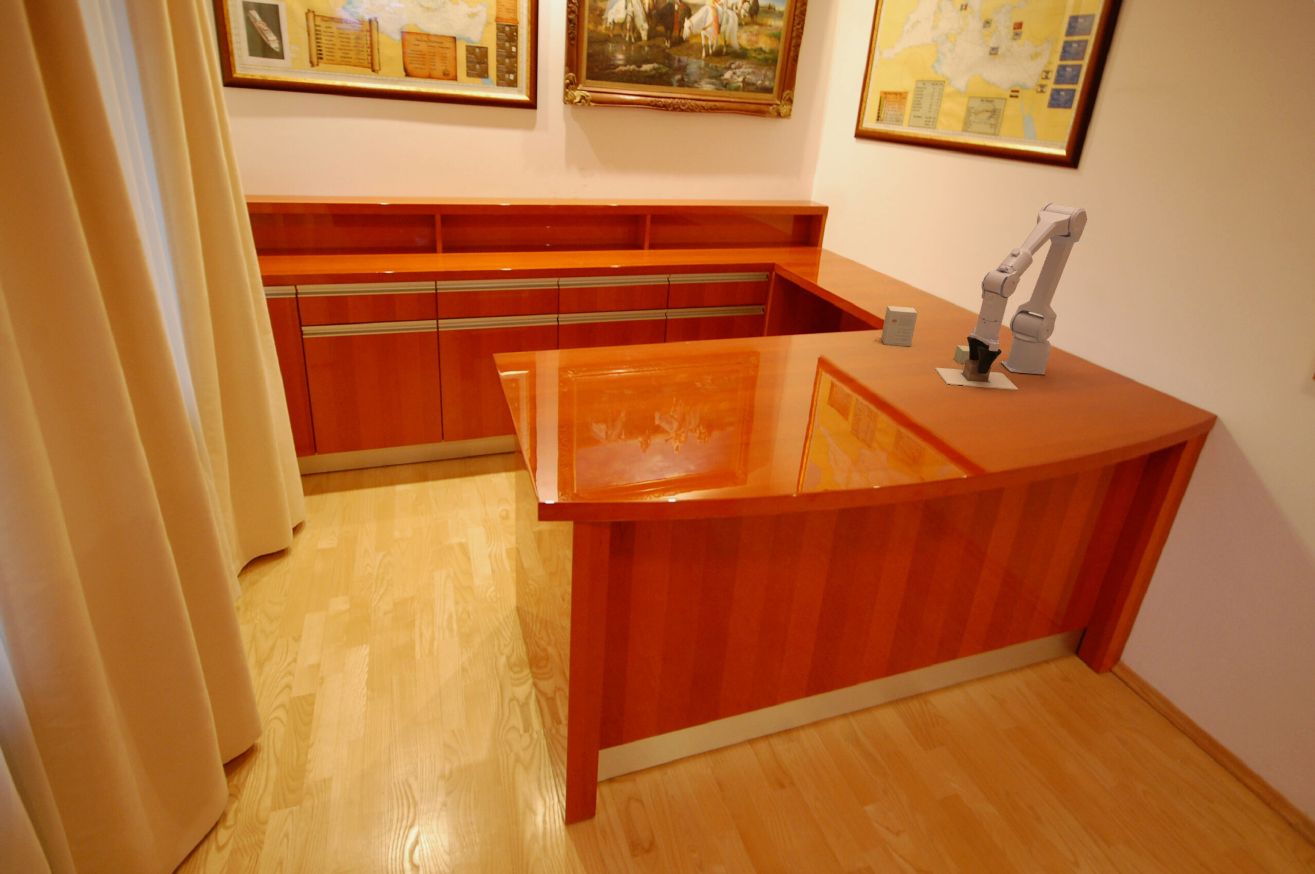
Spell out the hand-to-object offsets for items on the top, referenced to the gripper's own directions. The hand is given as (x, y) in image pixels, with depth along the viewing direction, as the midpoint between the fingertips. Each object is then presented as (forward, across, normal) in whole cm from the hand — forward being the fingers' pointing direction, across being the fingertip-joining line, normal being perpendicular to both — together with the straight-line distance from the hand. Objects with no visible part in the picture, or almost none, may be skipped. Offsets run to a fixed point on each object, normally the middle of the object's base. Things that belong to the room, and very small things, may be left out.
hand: (977, 368), depth 197 cm
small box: (+3, -28, -15) cm, 32 cm away
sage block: (+3, -15, +2) cm, 15 cm away
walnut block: (+2, 0, 0) cm, 3 cm away
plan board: (+3, 0, 0) cm, 3 cm away
